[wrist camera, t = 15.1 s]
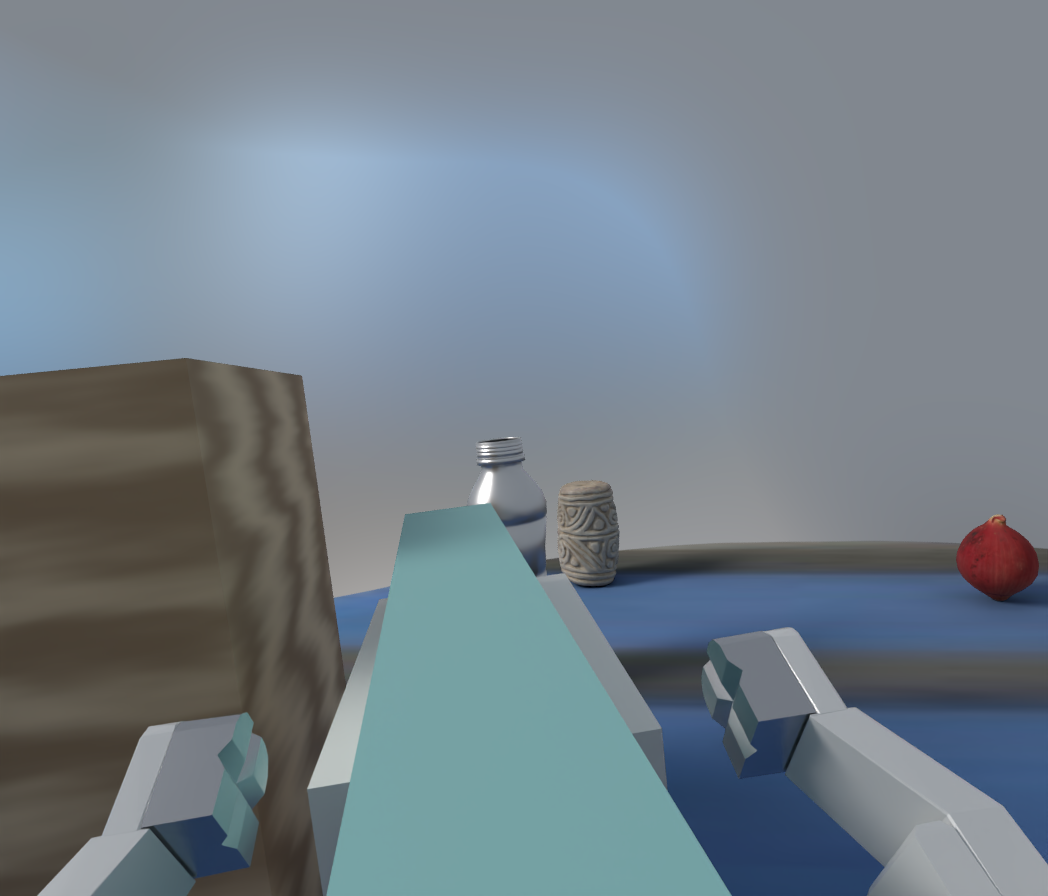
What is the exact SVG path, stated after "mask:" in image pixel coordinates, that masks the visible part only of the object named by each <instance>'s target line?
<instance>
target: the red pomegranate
mask: <svg viewBox="0 0 1048 896" xmlns="http://www.w3.org/2000/svg"><path fill="white" fill-rule="evenodd" d="M956 561H957V566H958V570H959V571H960V573H961V574H962V576H963V578H964V579H965V580H966V581H967V582H969V583H970V584H971V585H972V586H973V587H974V588H976V589H978V590H979V591H981V592H983V593H984V594H986V595H988V596H989V597H991V598H992V599H994V600H997V601H1004V600H1007V599H1008V598H1009V597H1010V596H1012V595H1014V594H1016V593H1018V592H1020V591H1022V590H1024V589H1025V588H1026V587H1028V586H1029V585H1031V584H1032V583H1033V581H1034V580H1035V578H1036V577H1037V576H1038V568H1039V562H1038V558H1037V554H1036V552H1035V550H1034V548H1033V546H1032V545H1031V544H1030V543H1029V541H1028V540H1027V539H1025V538H1024V537H1023V536H1022V535H1021V534H1020V533H1018V532H1017V531H1015V530H1013V529H1012V528H1010V527H1008V526H1007V525H1006V518H1005V517H1004V516H1003V515H994V516H993V517H991V518H990V519H989V520H988V521H987V522H986V523H984V524H983V525H980V526H978V527H977V528H975V529H973V530H972V531H971V532H970V533H969V534H968V535H967V536H966V537H965V538H964V539H963V541H962V542H961V544H960V547H959V549H958V551H957V557H956Z"/></svg>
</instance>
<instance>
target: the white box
mask: <svg viewBox="0 0 1048 896" xmlns="http://www.w3.org/2000/svg"><path fill="white" fill-rule="evenodd" d="M536 578H537V580H538V581H539V583H540V585H541V586H542V588H543V589H544V591H545V593H546V594H547V596H548V598H549V599H550V601H551V602H552V604H553V606H554V607H555V609H556V611H557V612H558V614H559V616H560V617H561V619H562V620H563V622H564V624H565V625H566V627H567V629H568V630H569V632H570V633H571V635H572V637H573V638H574V640H575V642H576V643H577V645H578V646H579V648H580V650H581V651H582V653H583V655H584V656H585V658H586V659H587V661H588V663H589V664H590V666H591V668H592V669H593V671H594V673H595V674H596V676H597V677H598V679H599V681H600V682H601V684H602V686H603V687H604V689H605V690H606V692H607V694H608V695H609V697H610V699H611V700H612V702H613V703H614V705H615V707H616V708H617V710H618V712H619V713H620V715H621V717H622V718H623V720H624V721H625V723H626V725H627V726H628V728H629V730H630V731H631V733H632V734H633V736H634V738H635V739H636V741H637V743H638V744H639V746H640V747H641V749H642V751H643V752H644V754H645V756H646V757H647V759H648V760H649V762H650V764H651V765H652V767H653V769H654V770H655V772H656V774H657V775H658V777H659V778H660V780H661V782H662V783H663V785H664V787H665V788H666V790H667V780H666V769H665V758H664V747H663V736H662V728H661V726H660V725H659V723H658V722H657V720H656V718H655V717H654V715H653V714H652V712H651V710H650V709H649V707H648V706H647V704H646V702H645V701H644V699H643V698H642V696H641V694H640V693H639V691H638V690H637V688H636V686H635V685H634V683H633V682H632V680H631V678H630V677H629V675H628V674H627V672H626V670H625V669H624V667H623V666H622V664H621V662H620V661H619V659H618V658H617V656H616V654H615V653H614V651H613V650H612V648H611V646H610V645H609V643H608V642H607V640H606V638H605V637H604V635H603V634H602V632H601V630H600V629H599V627H598V626H597V624H596V622H595V621H594V619H593V618H592V616H591V614H590V613H589V611H588V610H587V608H586V606H585V605H584V603H583V602H582V600H581V598H580V597H579V595H578V594H577V592H576V590H575V589H574V587H573V586H572V584H571V582H570V581H569V579H568V578H567V576H566V574H565V573H563V574H556V575H549V576H542V577H536ZM387 600H388V598H386V599H379V602H378V605H377V607H376V610H375V612H374V615H373V618H372V620H371V623H370V625H369V628H368V631H367V633H366V636H365V639H364V641H363V644H362V646H361V649H360V652H359V654H358V657H357V660H356V662H355V665H354V667H353V670H352V673H351V675H350V678H349V681H348V683H347V686H346V688H345V691H344V694H343V696H342V699H341V701H340V704H339V707H338V709H337V712H336V715H335V717H334V720H333V722H332V725H331V728H330V730H329V733H328V736H327V738H326V741H325V743H324V746H323V749H322V751H321V754H320V757H319V759H318V762H317V764H316V767H315V770H314V772H313V775H312V777H311V780H310V783H309V785H308V788H307V793H308V799H309V806H310V813H311V819H312V826H313V832H314V839H315V846H316V852H317V859H318V866H319V872H320V879H321V886H322V892H323V896H326V895H327V890H328V885H329V880H330V876H331V871H332V866H333V861H334V856H335V851H336V847H337V842H338V837H339V832H340V827H341V822H342V817H343V813H344V808H345V803H346V798H347V793H348V788H349V784H350V779H351V774H352V769H353V764H354V759H355V755H356V750H357V745H358V740H359V735H360V730H361V726H362V721H363V716H364V711H365V706H366V701H367V697H368V692H369V687H370V682H371V677H372V672H373V668H374V663H375V658H376V653H377V648H378V643H379V639H380V634H381V629H382V624H383V619H384V614H385V610H386V605H387Z"/></svg>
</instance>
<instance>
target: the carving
mask: <svg viewBox="0 0 1048 896" xmlns="http://www.w3.org/2000/svg"><path fill="white" fill-rule="evenodd" d="M610 488H611V486H610V485H609V484H608V483H605V482H602V481H593V480H592V481H575V482H571V483H568V484H566V485H564V486H562V487H561V488H560V493H559V498H558V516H557V519H558V552H559V559H560V565H561V567H562V572H563V573H565V574H566V576H567V578H568V579H569V580H570V581H571V582H573V583H575V584H579V585H583V586H603V585H607V584H610V583H611V582H612V581H613V580H614V576H615V575H616V571H615V569H616V568H617V565H616V564H617V563H618V558H619V555H618V549H619V530H618V528H619V525H618V523H617V513H616V507H615V504H614V502H613V496H612V494H613V491H612V489H610Z"/></svg>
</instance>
